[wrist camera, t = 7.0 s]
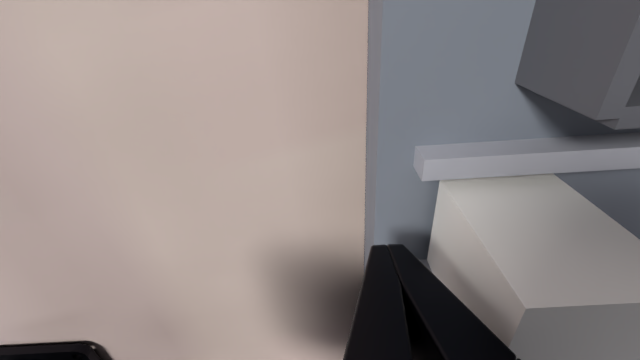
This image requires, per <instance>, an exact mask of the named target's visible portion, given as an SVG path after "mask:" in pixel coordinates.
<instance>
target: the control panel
mask: <svg viewBox="0 0 640 360" xmlns="http://www.w3.org/2000/svg"><path fill="white" fill-rule="evenodd" d="M551 173H553V174H554V175H556V176H557V177H558V178H560V179H561V180H562V181H564V182H565V183H566V184H568V185H569V186H570V187H571V188H573V189H574V190H575V191H577V192H578V193H579V194H581V195H582V196H583V197H585V198H586V199H587V200H589V201H590V202H591V203H592V204H594V205H595V206H596V207H598V208H599V209H600V210H602V211H603V212H604V213H606V214H607V215H608V216H609V217H611V218H612V219H613V220H615V221H616V222H617V223H619V224H620V225H621V226H623V227H624V228H625V229H627V230H628V231H629V232H630V233H632V234H633V235H634V236H636V237H637V238H638V239H640V0H369V10H368V68H367V127H366V186H365V245H364V272H365V268H366V264H367V260H368V256H369V252H370V248H371V246H372V245H383V244H385V245H388V244H403V245H404V246H406V247H407V248H408V249H409V250H410V251H411V252H412V253H413V254H414V255H415V256H416V257H417V258H418V259H419V260H420V261H421V262H422V263H423V264H424V265H425V266H426V267H427V268H428V269H429V270H430V271H431V272H432V270H431V268H430V266H429V263H428V261H427V256H428V250H429V244H430V238H431V231H432V225H433V219H434V213H435V207H436V201H437V194H438V188H439V182H440V180H451V179H468V178H485V177H501V176H518V175H535V174H551Z"/></svg>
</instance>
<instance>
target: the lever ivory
mask: <svg viewBox="0 0 640 360" xmlns="http://www.w3.org/2000/svg"><path fill="white" fill-rule="evenodd" d="M427 261H428V263H429V266H430V268H431V270H432V273H433V274H434V275H435V276H436V277H437V278H438V279H439V280H440V281H441V282H442V283H443V284H444V285H445V286H446V287H447V288H448V289H449V290H450V291H451V292H452V293H453V294H454V295H455V296H456V297H457V298H458V299H459V300H460V301H461V302H463V303H464V304H465V305H466V306H467V307H468V308H469V309H470V310H471V311H472V312H473V313H474V314H475V315H476V316H477V317H478V318H479V319H480V320H481V321H482V322H483V323H484V324H485V325H486V326H487V327H488V328H489V329H490V330H491V331H492V332H493V333H494V334H495V335H496V336H497V337H498V338H499V339H500V340H501V341H502V342H503V343H504V344H505V345H506V346H507V347H508V348H509V349H510V350H511V351H512V352H513V353H514V354H515V355H516V359H517V358H519V359H521V360H640V239H638V238H637V237H636V236H634V235H633V234H632V233H630V232H629V231H628V230H627V229H625V228H624V227H623V226H621V225H620V224H619V223H617V222H616V221H615V220H613V219H612V218H611V217H609V216H608V215H607V214H606V213H604V212H603V211H602V210H600V209H599V208H598V207H596V206H595V205H594V204H592V203H591V202H590V201H589V200H587V199H586V198H585V197H583V196H582V195H581V194H579V193H578V192H577V191H575V190H574V189H573V188H571V187H570V186H569V185H568V184H566V183H565V182H564V181H562V180H561V179H560V178H558V177H557V176H556V175H554V174H553V173H551V174H535V175H518V176H501V177H485V178H468V179H451V180H440V182H439V188H438V194H437V201H436V207H435V213H434V219H433V225H432V231H431V238H430V244H429V250H428V256H427Z"/></svg>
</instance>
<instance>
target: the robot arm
mask: <svg viewBox="0 0 640 360" xmlns="http://www.w3.org/2000/svg"><path fill="white" fill-rule="evenodd" d="M0 360H101V359H100V358H99V356H98V355H97V354H96V353H95V351H94V350H93V349H92V348H91V347H90V346H88V345H85V344H62V345H42V346H22V347H3V348H0ZM343 360H521V359H519V358H517V359H516V355H515V354H514V353H513V352H512V351H511V350H510V349H509V348H508V347H507V346H506V345H505V344H504V343H503V342H502V341H501V340H500V339H499V338H498V337H497V336H496V335H495V334H494V333H493V332H492V331H491V330H490V329H489V328H488V327H487V326H486V325H485V324H484V323H483V322H482V321H481V320H480V319H479V318H478V317H477V316H476V315H475V314H474V313H473V312H472V311H471V310H470V309H469V308H468V307H467V306H466V305H465V304H464V303H463V302H461V301H460V300H459V299H458V298H457V297H456V296H455V295H454V294H453V293H452V292H451V291H450V290H449V289H448V288H447V287H446V286H445V285H444V284H443V283H442V282H441V281H440V280H439V279H438V278H437V277H436V276H435V275H434V274H433V273H432V272H431V271H430V270H429V269H428V268H427V267H426V266H425V265H424V264H423V263H422V262H421V261H420V260H419V259H418V258H417V257H416V256H415V255H414V254H413V253H412V252H411V251H410V250H409V249H408V248H407V247H406V246H404V245H403V244H388V245H385V244H383V245H372V246H371V248H370V252H369V256H368V260H367V264H366V268H365V272H364V276H363V280H362V284H361V289H360V293H359V297H358V301H357V305H356V309H355V313H354V317H353V321H352V325H351V330H350V334H349V338H348V342H347V346H346V350H345V354H344V358H343Z"/></svg>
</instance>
